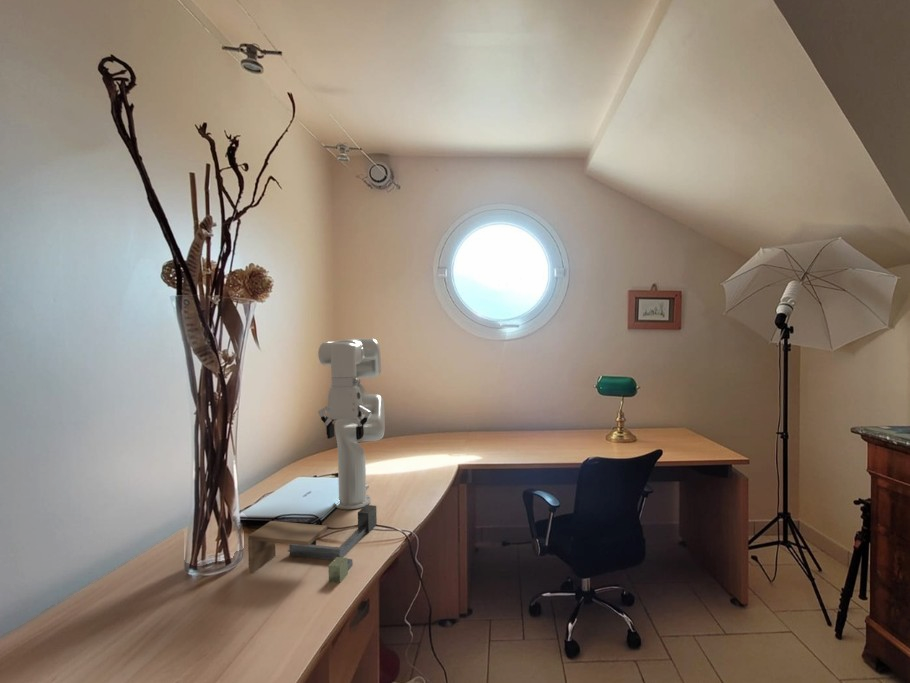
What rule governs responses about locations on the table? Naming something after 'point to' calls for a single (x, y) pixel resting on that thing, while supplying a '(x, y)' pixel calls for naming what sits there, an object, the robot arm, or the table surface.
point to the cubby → (278, 540)
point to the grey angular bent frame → (365, 525)
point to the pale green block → (339, 569)
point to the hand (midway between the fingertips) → (345, 438)
